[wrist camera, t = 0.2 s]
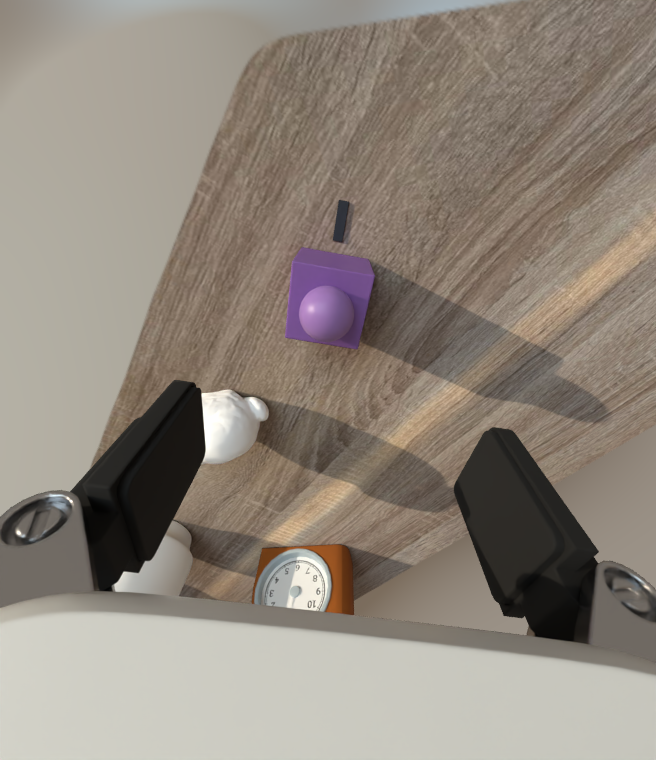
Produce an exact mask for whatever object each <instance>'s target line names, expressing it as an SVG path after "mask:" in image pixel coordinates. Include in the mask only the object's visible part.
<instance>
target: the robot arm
mask: <svg viewBox="0 0 656 760" xmlns="http://www.w3.org/2000/svg"><path fill="white" fill-rule="evenodd" d="M205 452H206V444H205V432H204V419H203V406H202V394H201V389H200V388H196V385H195V383H193V382H187V381H180V380H174V381H173V382H172V383H171V384H170V385H169V386H168V387H167V389H166V390H165V391H164V392H163V393H162V394H161V395H160V397H159V398H158V399H157V400H156V401H155V402H154V403H153V405H152V406H151V407H150V408H149V409H148V410H147V411H146V413H145V414H144V415H143V416H142V417H140V418H137V419H136V420H134V421H133V422H132V423H131V424H130V425H129V427H128V428H127V429H126V430H125V431H124V432H123V433H122V434H121V435H120V437H119V438H118V439H117V440H116V441H115V442H114V443H113V444H112V445H111V447H110V448H109V449H108V450H107V451H106V452H105V453H104V454H103V456H102V457H101V458H100V459H99V460H98V461H97V462H96V463H95V464H94V466H93V467H92V468H91V469H90V470H89V471H88V472H87V473H86V474H85V476H84V477H83V478H82V479H81V480H80V481H79V482H78V483H77V485H76V486H75V487H74V488H73V489H72V490H71V491H70V492H68V491H62V490H57V491H48V492H44V493H40V494H36V495H34V496H31V497H29V498H27V499H25V500H23V501H21V502H19V503H17V504H16V505H14V506H13V507H11V508H10V509H9V510H7V511H6V512H5V513H4V514H3V515H2V516H1V517H0V760H656V590H655V588H654V587H653V586H652V585H651V584H650V583H648V582H647V581H646V580H645V579H644V578H643V577H641V576H640V575H639V574H637V573H636V572H634V571H633V570H631V569H630V568H628V567H626V566H624V565H622V564H619V563H616V562H613V561H602V562H600V563H597V561H596V560H595V558H594V556H595V555H596V554H597V553H598V552H599V551H598V550H597V548H596V547H595V546H594V544H593V543H592V542H591V540H590V538H589V537H588V536H587V534H586V533H585V531H584V530H583V529H582V527H581V526H580V524H579V523H578V522H577V520H576V519H575V517H574V516H573V515H572V513H571V512H570V510H569V509H568V507H567V506H566V505H565V504H564V502H563V500H562V499H561V498H560V496H559V495H558V493H557V492H556V491H555V489H554V488H553V486H552V485H551V483H550V482H549V481H548V479H547V478H546V476H545V475H544V474H543V472H542V471H541V469H540V468H539V467H538V465H537V464H536V462H535V461H534V460H533V458H532V457H531V455H530V454H529V452H528V451H527V450H526V448H525V447H524V445H523V444H522V443H521V441H520V440H519V438H518V437H517V436H516V434H515V433H514V432H513V431H512V430H509V429H502V428H495V427H494V428H491V429H490V430H489V431H485V432H484V433H483V435H482V437H481V439H480V440H479V442H478V444H477V446H476V447H475V449H474V451H473V453H472V454H471V456H470V458H469V460H468V461H467V463H466V465H465V467H464V468H463V470H462V472H461V474H460V475H459V477H458V479H457V481H456V482H455V485H454V493H455V496H456V499H457V502H458V504H459V507H460V510H461V513H462V515H463V518H464V521H465V523H466V526H467V529H468V531H469V534H470V537H471V539H472V542H473V545H474V548H475V550H476V553H477V556H478V558H479V561H480V564H481V566H482V569H483V572H484V575H485V577H486V580H487V582H488V585H489V588H490V591H491V594H492V596H493V598H494V599H495V601H496V602H498V603H499V604H500V607H501V610H502V612H503V615H504V616H509V617H517V618H523V617H524V616H525V617H526V620H527V622H528V624H529V628H528V631H527V635H519V634H511V633H502V632H494V631H485V630H477V629H469V628H460V627H452V626H444V625H435V624H426V623H418V622H409V621H400V620H392V619H383V618H374V617H366V616H357V615H348V614H339V613H330V612H322V611H313V610H304V609H294V608H285V607H276V606H267V605H258V604H248V603H239V602H230V601H221V600H212V599H202V598H191V597H180V596H168V595H157V594H146V593H134V592H116V591H115V586H114V584H115V583H117V582H118V581H119V579H120V577H121V576H122V574H123V572H132V573H139V572H140V570H141V568H142V566H143V564H144V562H145V561H151V560H152V558H153V557H154V555H155V554H156V552H157V550H158V548H159V546H160V544H161V542H162V540H163V538H164V536H165V534H166V532H167V530H168V528H169V526H170V524H171V522H172V520H173V518H174V516H175V514H176V512H177V510H178V508H179V507H180V505H181V503H182V501H183V499H184V497H185V495H186V493H187V491H188V489H189V487H190V485H191V483H192V481H193V479H194V477H195V475H196V473H197V471H198V469H199V467H200V465H201V463H202V461H203V459H204V457H205Z"/></svg>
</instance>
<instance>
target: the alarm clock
mask: <svg viewBox="0 0 656 760" xmlns="http://www.w3.org/2000/svg"><path fill="white" fill-rule="evenodd" d="M252 604H258V605H267V606H276V607H285V608H294V609H304V610H313V611H322V612H330V613H339V614H348V615H354V596H353V564H352V560H351V555H350V551H349V549H348V548H347V547H345V546H343V545H319V546H301V547H283V548H265V549H262V552H261V556H260V561H259V565H258V570H257V574H256V579H255V583H254V588H253V595H252Z"/></svg>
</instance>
